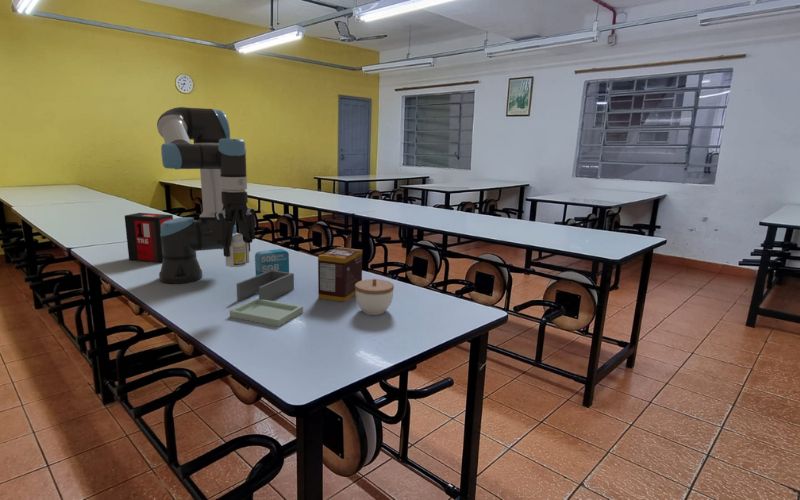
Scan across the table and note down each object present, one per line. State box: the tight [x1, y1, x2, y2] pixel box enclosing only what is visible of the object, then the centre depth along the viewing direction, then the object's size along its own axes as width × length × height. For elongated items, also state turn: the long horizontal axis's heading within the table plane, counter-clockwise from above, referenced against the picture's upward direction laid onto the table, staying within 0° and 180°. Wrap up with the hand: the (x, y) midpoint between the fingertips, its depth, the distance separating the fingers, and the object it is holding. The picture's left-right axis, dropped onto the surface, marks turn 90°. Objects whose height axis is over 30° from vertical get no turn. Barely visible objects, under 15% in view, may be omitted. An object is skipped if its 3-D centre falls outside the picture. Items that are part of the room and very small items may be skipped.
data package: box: [254, 248, 290, 276], centre depth 175 cm, size 12×4×12 cm, turn 129°
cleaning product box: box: [124, 212, 174, 264], centre depth 199 cm, size 16×9×20 cm, turn 80°
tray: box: [229, 297, 304, 327], centre depth 141 cm, size 18×13×2 cm
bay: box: [236, 270, 295, 301], centre depth 159 cm, size 10×19×6 cm, turn 160°
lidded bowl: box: [354, 278, 395, 316], centre depth 147 cm, size 13×13×11 cm
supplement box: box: [317, 246, 363, 303], centre depth 162 cm, size 10×15×16 cm
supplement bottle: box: [230, 233, 247, 268], centre depth 141 cm, size 5×5×10 cm
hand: (237, 264), depth 142 cm, fingers closed on supplement bottle, 5 cm apart
